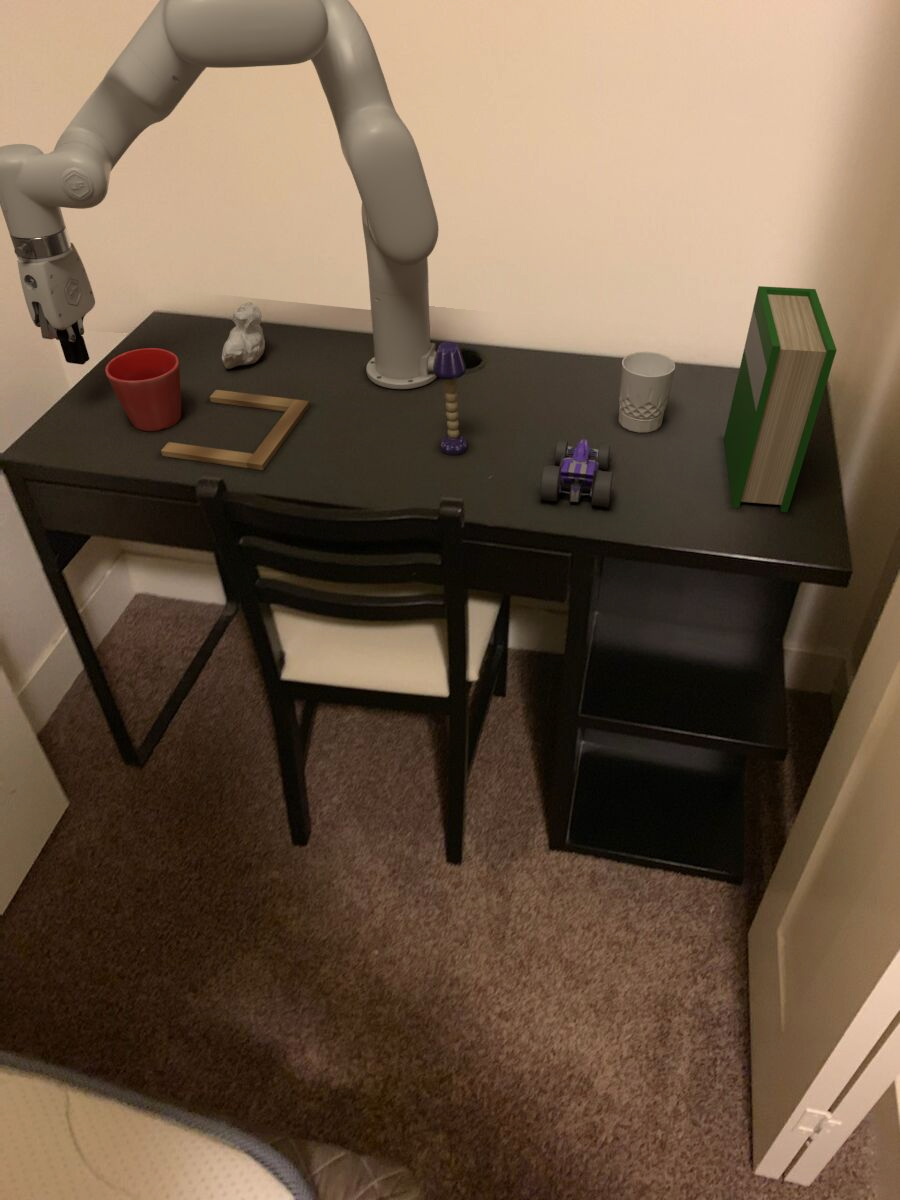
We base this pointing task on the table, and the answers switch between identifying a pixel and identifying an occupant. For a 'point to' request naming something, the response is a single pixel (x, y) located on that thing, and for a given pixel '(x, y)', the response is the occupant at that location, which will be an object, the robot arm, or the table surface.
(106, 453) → the table surface
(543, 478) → the toy race car
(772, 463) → the hardback book
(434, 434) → the table surface
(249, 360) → the bust
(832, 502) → the table surface
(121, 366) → the flower pot
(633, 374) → the white cup
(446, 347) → the toy lamp
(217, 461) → the frame
